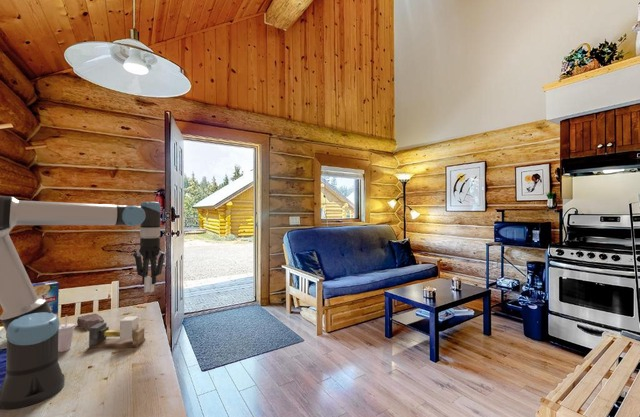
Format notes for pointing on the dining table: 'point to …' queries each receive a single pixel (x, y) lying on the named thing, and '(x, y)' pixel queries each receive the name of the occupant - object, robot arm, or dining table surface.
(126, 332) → the sleeve
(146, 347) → the dining table surface
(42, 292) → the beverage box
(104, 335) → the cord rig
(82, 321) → the stone
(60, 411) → the dining table surface
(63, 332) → the smoothie
